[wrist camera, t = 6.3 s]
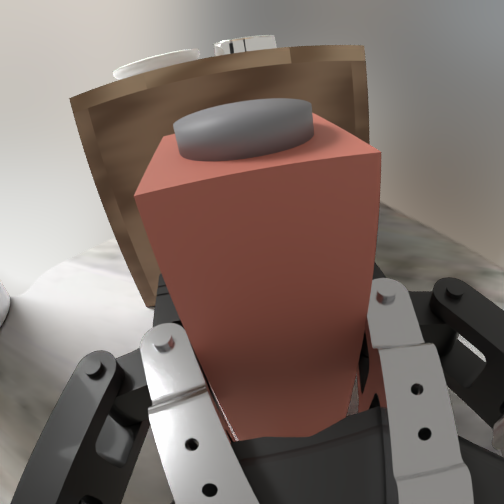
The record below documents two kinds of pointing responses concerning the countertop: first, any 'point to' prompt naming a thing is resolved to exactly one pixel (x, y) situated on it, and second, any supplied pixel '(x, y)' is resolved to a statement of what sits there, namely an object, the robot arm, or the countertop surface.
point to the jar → (156, 63)
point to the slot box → (193, 100)
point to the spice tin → (267, 256)
